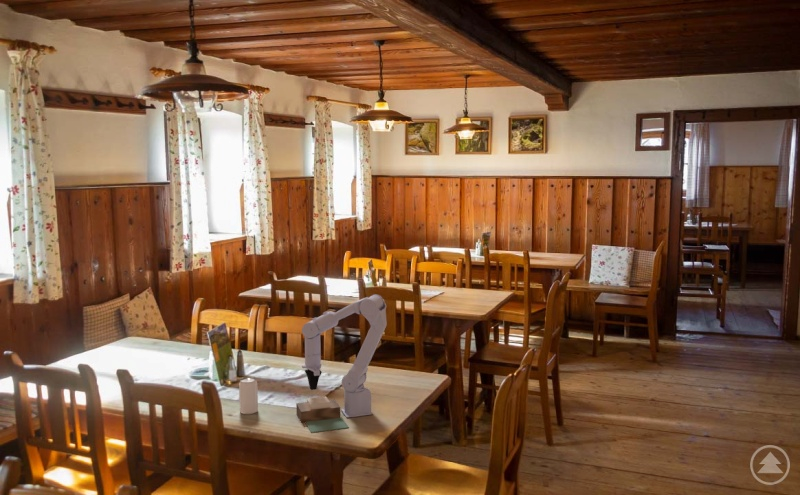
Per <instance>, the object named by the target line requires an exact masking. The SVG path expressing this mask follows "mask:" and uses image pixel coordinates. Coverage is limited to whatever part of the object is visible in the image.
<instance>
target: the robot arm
mask: <svg viewBox="0 0 800 495" xmlns="http://www.w3.org/2000/svg"><path fill="white" fill-rule="evenodd" d="M386 310H387V304H386V302H385V300H384V298H383V297H382V296H381V295H380V294H372V295H370V296H366V297H363V298H360V299H358V300H356V301H354V302H352V303H350V304H348V305H347V306H345V307H343V308H341V309H339V310H337V311H336V312H335V311H331V310H329V311H328V310H326V311H324V312H322V314H321V315H320V316H318V317H316V316H315V317H313V318H312V319H311V320H310V321H307V322H306V323H304V325H302V328H301V333H302V335H303V336H304V364H301V368H302V369H304V373H305V374H306V377H307V381H308V386H309V389H310V390H311V391H312V390H313V391H314V390H317V388H318V383H319V379H320V377H321V375H322V370H321V369H322V361H321V360H322V359H321V358H322V356H321V355H322V353H321V352H322V350H321V348H322V347H321V334H322V333H324V332H326V331H327V332H328V330H330V329H332V328H334V327H336V326H338V324H339V321H340V320H342V319H345V318H346V317H348V316H351V315H353V314H357V315H362V316H363V317H364V318H365V319H366V320H367V321H368V323H369V326H370V327H369V330H368V332H367V334H366V336H365V339H364V340H363V342H362V345H361V347H360V350H359V352H358V353H357V356H356V358H355V360H354V363H353V364H352V365H351V367H350V369H349V370H348V372H347V373H346V374H345V375H344V376H343V377H342V379H341V387H342V388H343V393H344V394H343V395H344V396H343V397H344V401H343V402H344V404H343V405H344V408H340V412H342V414H344V416H345V418H355V417H363V416H370V415H373V412H372V393H371V389H370V388H369V387H365V385H364V384H365V383H366V381H367V373H368V370H369V368H368V367H369V364H370V363H371V360H372V358H373V356H374V354H375V352H376V349H377V348H378V345H379V342H380V341H381V339H382V337H383V335H384V332H385V329H386V327H387V325H388V323H387V312H386Z"/></svg>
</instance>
